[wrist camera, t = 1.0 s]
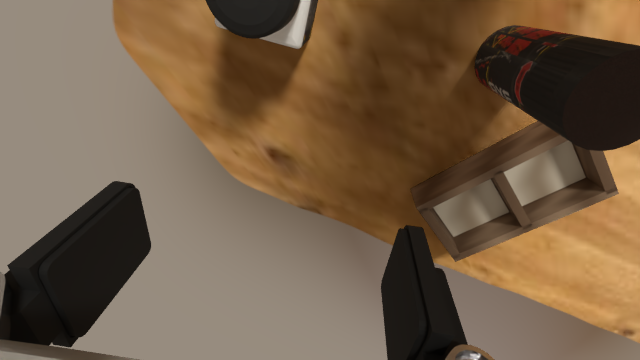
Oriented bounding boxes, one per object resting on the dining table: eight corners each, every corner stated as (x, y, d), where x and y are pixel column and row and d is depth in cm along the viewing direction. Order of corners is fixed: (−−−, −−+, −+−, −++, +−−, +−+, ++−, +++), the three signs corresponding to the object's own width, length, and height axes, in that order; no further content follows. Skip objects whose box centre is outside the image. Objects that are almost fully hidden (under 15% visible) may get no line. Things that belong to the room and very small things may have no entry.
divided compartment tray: (565, 106, 32) (591, 119, 29) (593, 176, 36) (619, 195, 33) (410, 189, 39) (416, 207, 36) (447, 241, 43) (456, 263, 39)
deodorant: (554, 45, 30) (710, 82, 17) (507, 99, 33) (610, 166, 20) (505, 12, 29) (632, 25, 16) (461, 71, 32) (539, 123, 19)
